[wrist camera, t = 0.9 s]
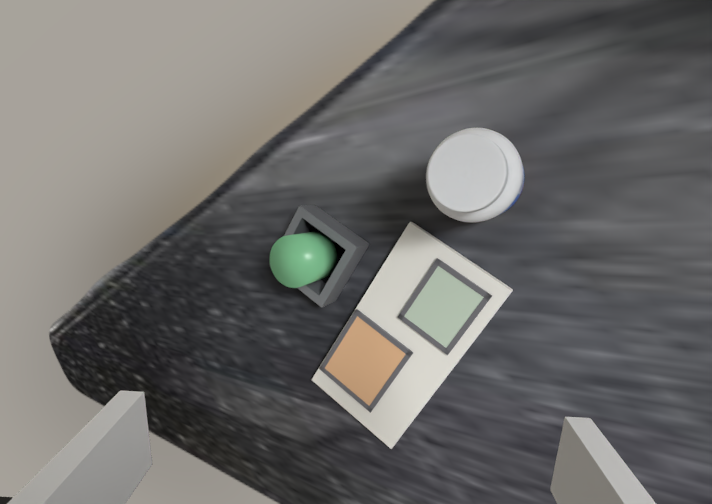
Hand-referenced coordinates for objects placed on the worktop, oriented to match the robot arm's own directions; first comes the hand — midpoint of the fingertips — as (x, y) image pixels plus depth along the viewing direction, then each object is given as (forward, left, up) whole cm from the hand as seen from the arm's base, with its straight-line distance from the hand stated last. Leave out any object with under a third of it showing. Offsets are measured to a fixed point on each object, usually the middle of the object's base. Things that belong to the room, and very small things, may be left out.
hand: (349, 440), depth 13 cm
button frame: (+4, -11, -21) cm, 24 cm away
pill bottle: (-8, -3, -21) cm, 23 cm away
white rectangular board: (+6, -2, -21) cm, 21 cm away
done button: (+4, -11, -19) cm, 22 cm away
